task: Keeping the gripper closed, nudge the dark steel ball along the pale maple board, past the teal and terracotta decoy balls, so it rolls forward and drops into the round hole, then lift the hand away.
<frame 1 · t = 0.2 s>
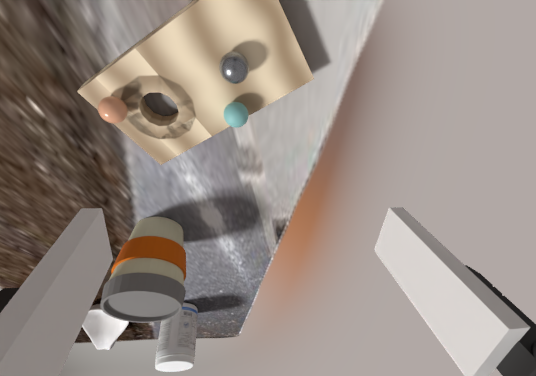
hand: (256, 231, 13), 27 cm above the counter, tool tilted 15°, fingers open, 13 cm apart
spoon rest: (110, 314, 80), on the counter
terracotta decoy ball: (113, 109, 32), point 4 cm above the counter, touching maple board
supplement tub: (181, 307, 80), on the counter
maple board: (200, 76, 34), on the counter
steel ball: (234, 67, 30), point 4 cm above the counter, touching maple board
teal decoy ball: (236, 114, 34), point 4 cm above the counter, touching maple board
reusable coffee cup: (159, 230, 55), on the counter
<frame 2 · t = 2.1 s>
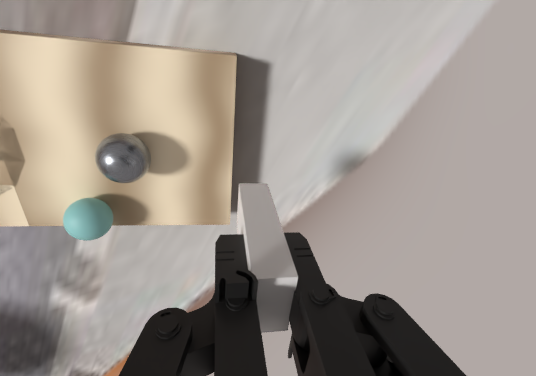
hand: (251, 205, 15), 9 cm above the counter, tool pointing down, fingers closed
maple board: (67, 134, 21), on the counter
steel ball: (124, 158, 18), point 4 cm above the counter, touching maple board
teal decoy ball: (89, 218, 20), point 4 cm above the counter, touching maple board
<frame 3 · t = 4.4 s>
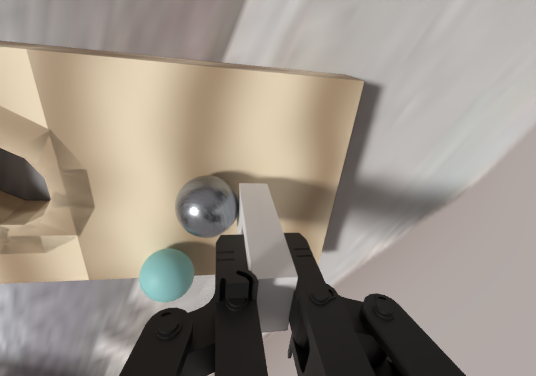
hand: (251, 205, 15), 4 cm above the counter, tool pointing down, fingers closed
maple board: (138, 169, 17), on the counter
steel ball: (207, 206, 14), point 4 cm above the counter, tilted 24°, touching gripper, maple board
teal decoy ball: (167, 274, 16), point 4 cm above the counter, touching maple board
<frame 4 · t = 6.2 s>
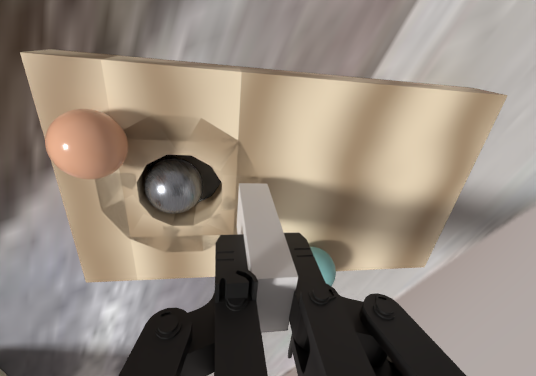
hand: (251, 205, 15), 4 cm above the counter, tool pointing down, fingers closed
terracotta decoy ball: (89, 144, 12), point 4 cm above the counter, touching maple board
maple board: (278, 175, 19), on the counter
steel ball: (174, 186, 16), point 2 cm above the counter, tilted 52°
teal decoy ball: (311, 270, 18), point 4 cm above the counter, touching maple board
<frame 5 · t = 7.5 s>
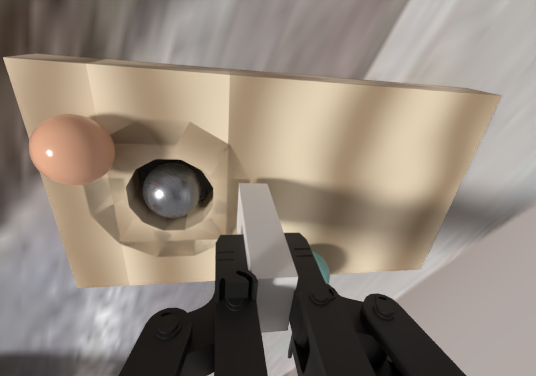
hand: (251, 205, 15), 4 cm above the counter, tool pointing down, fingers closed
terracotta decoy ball: (75, 150, 12), point 4 cm above the counter, touching maple board
maple board: (271, 178, 19), on the counter
steel ball: (172, 190, 16), point 2 cm above the counter, tilted 37°
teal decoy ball: (305, 274, 18), point 4 cm above the counter, touching maple board
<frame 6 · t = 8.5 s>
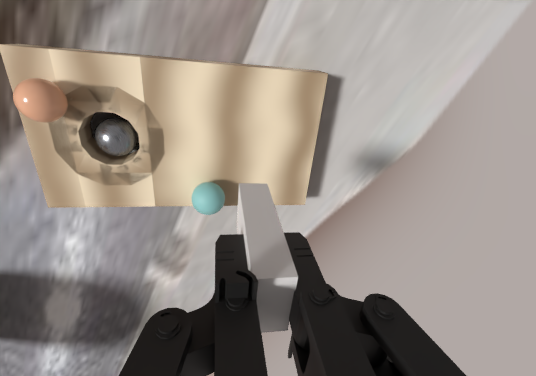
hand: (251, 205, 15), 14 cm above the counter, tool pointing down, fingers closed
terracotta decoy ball: (41, 100, 20), point 4 cm above the counter, touching maple board
maple board: (187, 133, 27), on the counter
steel ball: (116, 137, 24), point 2 cm above the counter, tilted 26°
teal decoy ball: (208, 198, 26), point 4 cm above the counter, touching maple board
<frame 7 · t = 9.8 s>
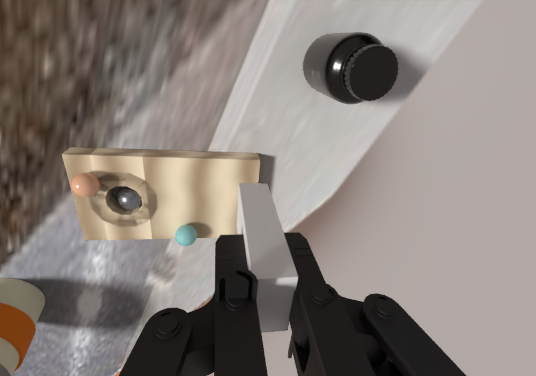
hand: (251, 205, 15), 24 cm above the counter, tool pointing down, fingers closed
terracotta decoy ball: (85, 184, 34), point 4 cm above the counter, touching maple board
maple board: (173, 192, 41), on the counter
supplement bottle: (327, 63, 36), on the counter
steel ball: (130, 198, 38), point 2 cm above the counter, tilted 13°
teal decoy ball: (186, 235, 40), point 4 cm above the counter, touching maple board
reusable coffee cup: (14, 297, 46), on the counter
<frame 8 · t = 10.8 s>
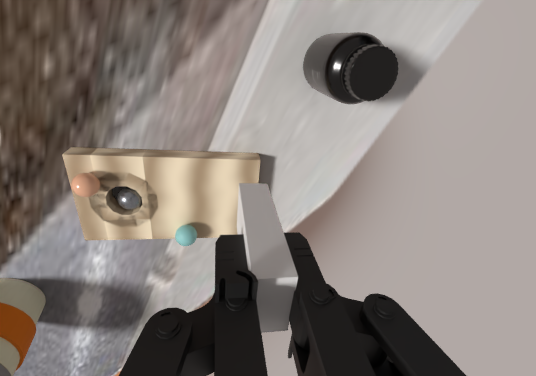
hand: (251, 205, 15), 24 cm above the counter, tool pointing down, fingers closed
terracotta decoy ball: (86, 184, 34), point 4 cm above the counter, touching maple board
maple board: (173, 192, 41), on the counter
supplement bottle: (327, 63, 36), on the counter
steel ball: (130, 198, 39), point 2 cm above the counter, tilted 15°
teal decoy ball: (186, 235, 40), point 4 cm above the counter, touching maple board
reusable coffee cup: (14, 297, 46), on the counter
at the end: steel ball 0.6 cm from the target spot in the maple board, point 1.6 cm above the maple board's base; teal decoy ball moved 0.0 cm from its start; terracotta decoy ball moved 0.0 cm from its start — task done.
